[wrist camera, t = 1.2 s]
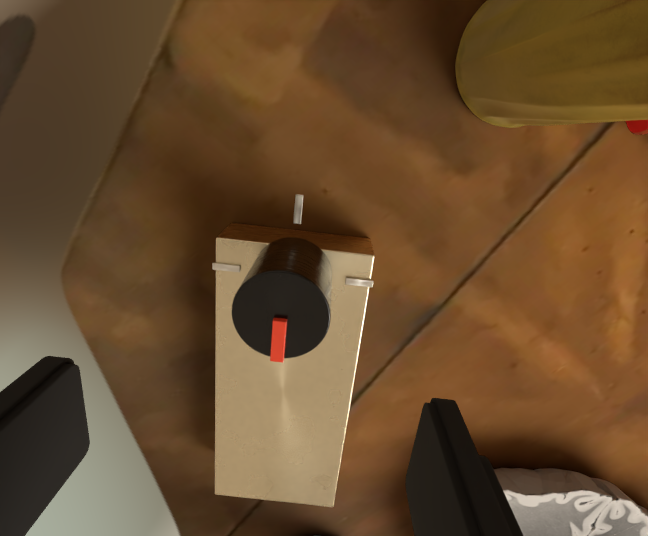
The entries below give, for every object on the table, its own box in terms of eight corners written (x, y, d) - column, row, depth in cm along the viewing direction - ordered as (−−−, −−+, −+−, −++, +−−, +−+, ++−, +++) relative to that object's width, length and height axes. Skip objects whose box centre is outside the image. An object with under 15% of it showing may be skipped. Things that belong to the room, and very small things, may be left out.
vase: (445, 6, 18) (762, -322, 4) (585, -36, 17) (1461, -581, 4) (462, 140, 20) (711, 187, 7) (587, 108, 19) (1151, 89, 6)
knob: (255, 232, 19) (229, 268, 14) (336, 241, 19) (335, 279, 14) (252, 304, 20) (228, 357, 16) (327, 313, 20) (324, 368, 16)
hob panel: (230, 175, 21) (212, 185, 18) (379, 192, 21) (386, 204, 18) (225, 457, 28) (212, 497, 25) (335, 469, 28) (334, 510, 26)
